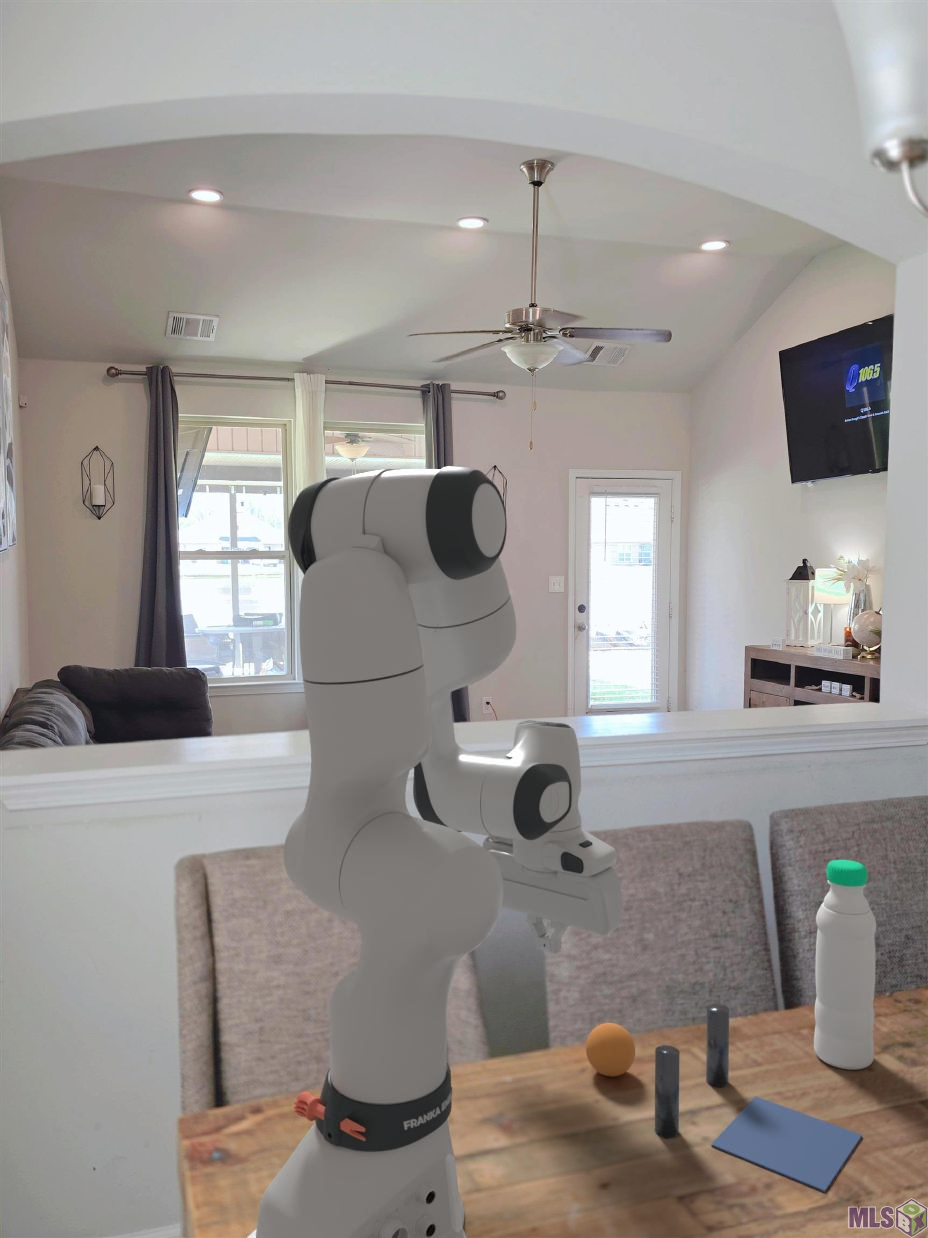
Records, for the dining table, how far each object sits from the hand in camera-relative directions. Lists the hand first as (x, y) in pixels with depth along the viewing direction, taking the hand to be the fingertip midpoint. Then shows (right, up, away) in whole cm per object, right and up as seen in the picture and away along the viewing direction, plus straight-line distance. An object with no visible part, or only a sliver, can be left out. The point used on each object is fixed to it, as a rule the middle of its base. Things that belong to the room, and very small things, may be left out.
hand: (548, 950), depth 122 cm
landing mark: (+24, -14, -20) cm, 34 cm away
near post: (+11, -14, -18) cm, 25 cm away
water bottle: (+37, -13, -2) cm, 40 cm away
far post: (+20, -13, -8) cm, 25 cm away
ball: (+7, -10, -6) cm, 14 cm away
